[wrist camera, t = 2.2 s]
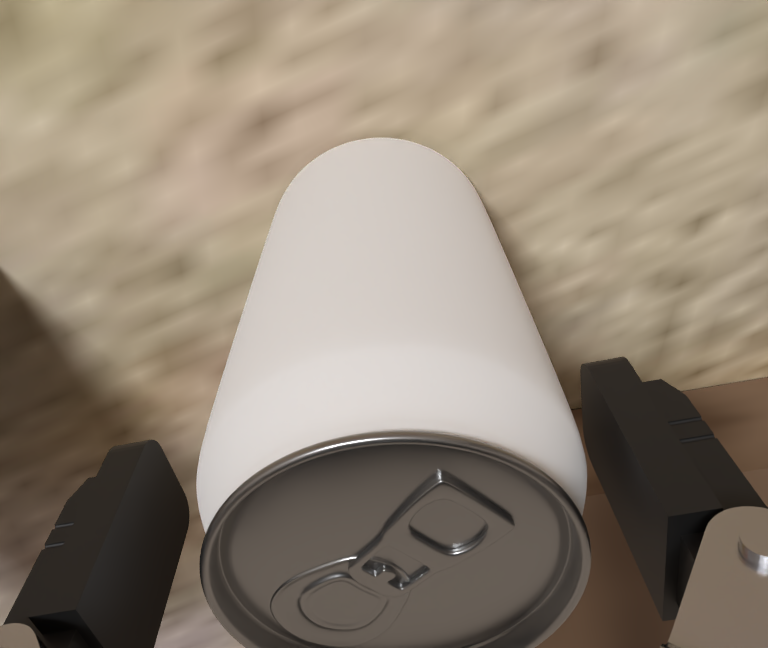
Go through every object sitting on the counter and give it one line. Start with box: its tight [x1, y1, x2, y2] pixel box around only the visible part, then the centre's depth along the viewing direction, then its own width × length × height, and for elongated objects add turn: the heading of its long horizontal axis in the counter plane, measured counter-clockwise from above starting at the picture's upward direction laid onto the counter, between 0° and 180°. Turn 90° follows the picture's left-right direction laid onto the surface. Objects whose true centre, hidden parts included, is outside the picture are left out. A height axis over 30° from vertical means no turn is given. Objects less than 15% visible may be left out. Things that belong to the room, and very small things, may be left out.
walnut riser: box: [535, 377, 768, 648], centre depth 24 cm, size 12×12×4 cm
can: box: [196, 138, 591, 648], centre depth 14 cm, size 6×6×12 cm
